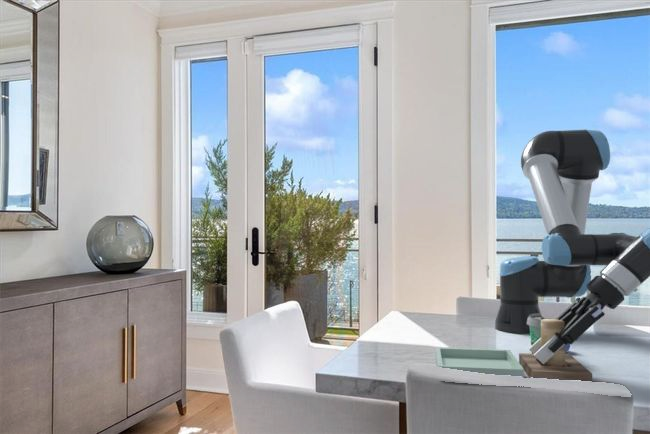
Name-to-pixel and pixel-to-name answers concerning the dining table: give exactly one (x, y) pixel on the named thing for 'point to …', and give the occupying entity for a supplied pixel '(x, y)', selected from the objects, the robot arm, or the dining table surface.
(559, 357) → the dowel
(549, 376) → the dowel block
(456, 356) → the tray
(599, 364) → the dining table surface
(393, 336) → the dining table surface
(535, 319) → the food container
